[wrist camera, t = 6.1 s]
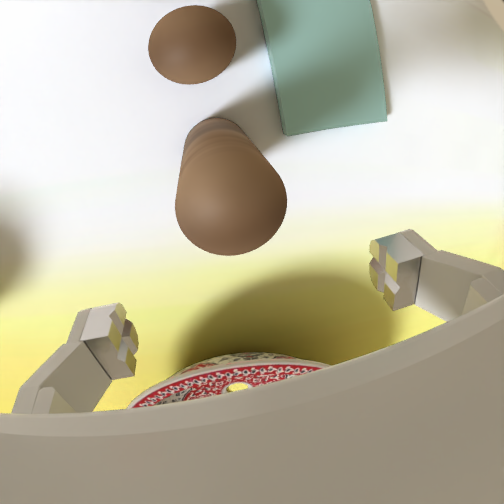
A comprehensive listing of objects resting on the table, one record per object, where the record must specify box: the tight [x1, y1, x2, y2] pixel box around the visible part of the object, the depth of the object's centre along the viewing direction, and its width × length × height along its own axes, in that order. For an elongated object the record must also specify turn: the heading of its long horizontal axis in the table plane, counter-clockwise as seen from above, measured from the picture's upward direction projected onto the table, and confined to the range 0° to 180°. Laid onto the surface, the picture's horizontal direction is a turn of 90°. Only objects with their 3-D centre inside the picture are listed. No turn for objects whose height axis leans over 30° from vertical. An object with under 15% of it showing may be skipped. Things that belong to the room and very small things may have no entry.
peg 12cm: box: [175, 118, 287, 256], centre depth 19 cm, size 5×5×12 cm
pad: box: [257, 0, 387, 136], centre depth 20 cm, size 16×9×1 cm, turn 11°
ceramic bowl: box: [126, 352, 332, 409], centre depth 37 cm, size 29×29×8 cm
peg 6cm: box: [148, 5, 236, 84], centre depth 18 cm, size 5×5×6 cm
